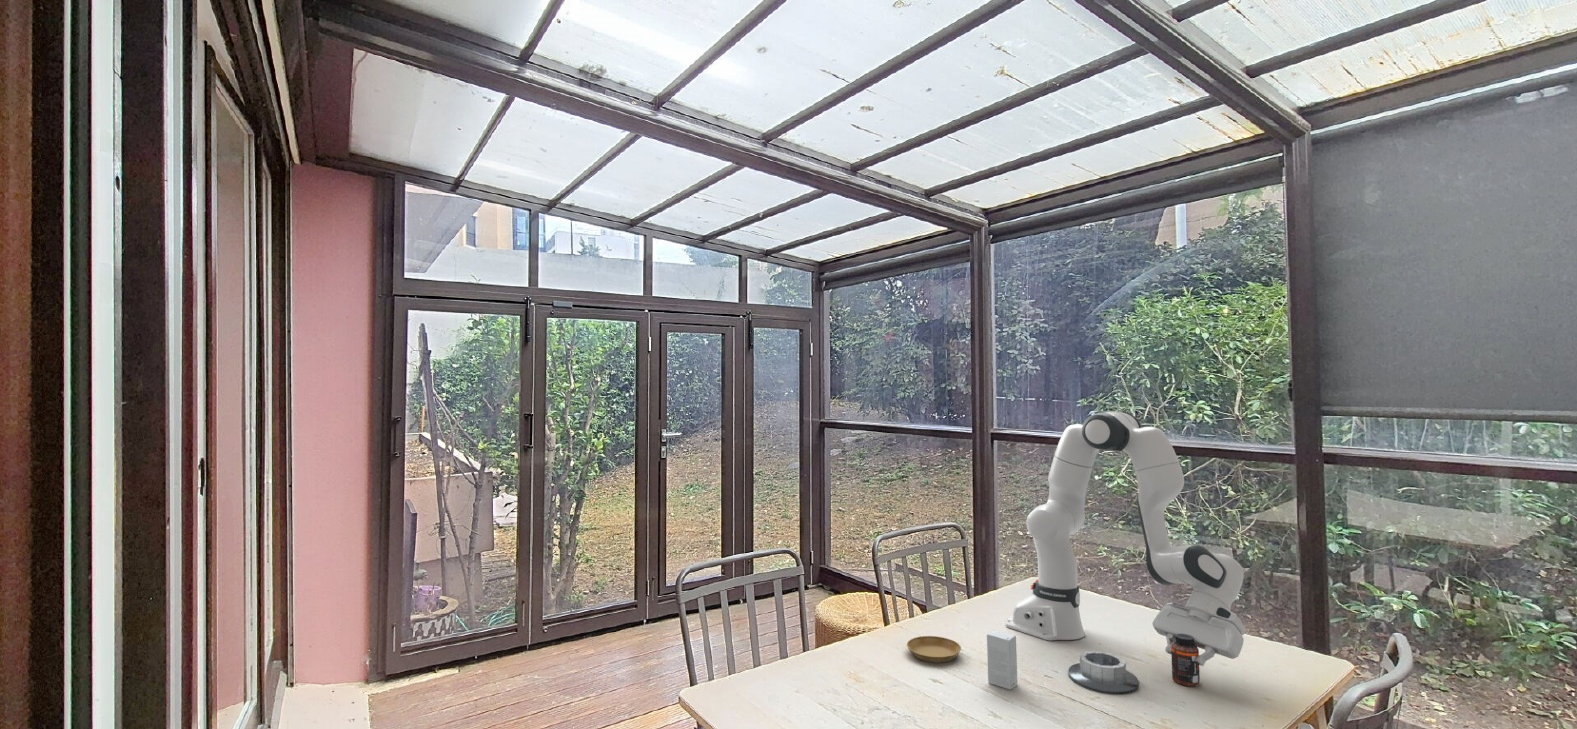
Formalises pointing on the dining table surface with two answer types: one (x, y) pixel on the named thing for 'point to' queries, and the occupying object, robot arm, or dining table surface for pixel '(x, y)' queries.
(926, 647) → the plant saucer
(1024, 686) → the dining table surface
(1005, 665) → the skincare box
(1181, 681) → the supplement bottle
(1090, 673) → the duct collar
